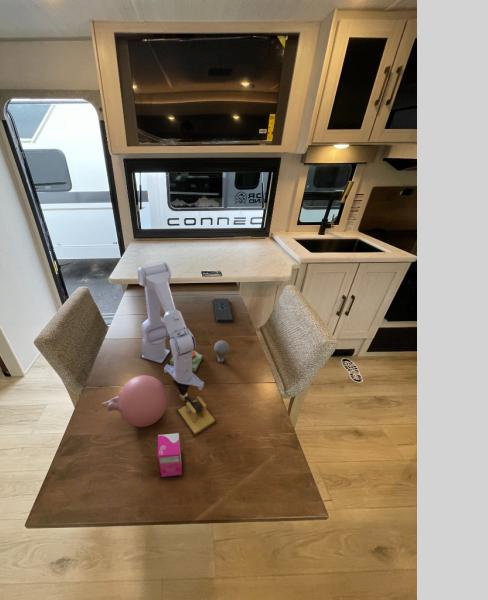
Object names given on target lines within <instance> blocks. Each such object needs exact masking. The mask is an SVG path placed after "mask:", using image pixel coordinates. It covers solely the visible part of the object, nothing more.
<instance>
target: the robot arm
mask: <svg viewBox="0 0 488 600" xmlns="http://www.w3.org/2000/svg"><path fill="white" fill-rule="evenodd" d="M136 272H137V280H138V284H139V286H141V287H144V295H145V303H146V311H147V319H145V320H144V322H142V324H141V335H142V340H141V345H140V346H141V353H142V355H141V358H143V359H146V360H150V361H152V362H155V363H159V364H162V363H163V362H164V360H165V359H166V358H167V356H168V355H169V353H170V351H171V355H172V357H173V356H174V365H172V364H168V363H167V364H166V365H165V366H164V367H163V372H164V373H166V374H167V373H168V374H169V375H170V376H171V378H172V379H173V380H172V383H173V384H174V385H175V386H176V388H177V389H178V392H179V395H180V394H181V395H183V396H185V394H186V393H187V394H188V390H189V388H190V386H194V387H197V389H198V390H199V391H202V390H203V388H204V387H205V382H204V381H203V380H201V379H200V378H199V377H198V376H197V375H196V374H195V373H194V371H192V350H193V351H194V350H195V349H196V347H197V344H196V339H195V337H194V334H193V333H192V331H190V329H189V328H187V325H186V322H185V320H184V317H183V314H182V312H181V311H180V310H178V309H177V308H176V305H175V302H174V299H173V294H172V292H171V288H170V284H171V280H172V279H171V277H172V272H171V268H170V265H169V264H168V263H167V262H165V261H164V262H160V263H155V264H150V265H145V266H140V267H138V268H137V271H136ZM161 307H162V310H163V312H164V315H163V317H162V316H161ZM168 337H169V338H170V340H169V346H170V349H167V347H166V340H167V338H168Z"/></svg>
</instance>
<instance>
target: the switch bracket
mask: <svg viewBox="0 0 488 600" xmlns="http://www.w3.org/2000/svg"><path fill="white" fill-rule="evenodd" d="M192 401H193V402H195V401H197V402H198V403H199V404H200V405H201V409H202V411H201V412H200V413H198V414H196V410H195V409H194V408H193V406H192V405H191V404H190V403H189V402H187V401H186V403H185V405H184V406H182V407H180V408H179V409H177V411H178V413H179V415H180V417H182V419H183V420H184V422H185V423H186V425H187V426H188V428H189V429H190V431H191V432H192V433H193V435H194V436H195V435H197V434H199V433H200V432H202V431H203V430H205V429H206V428H208V427H209V426H211V425H212V424H214V423H215V422H216V420H215V418H214V417H213V416H212V415H211V413H210V412H209V411H208V408H207V403H205V401H204V400H203V398H201V396H200V395H197V396H196V398H195V399H194V400H192Z"/></svg>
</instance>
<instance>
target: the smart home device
mask: <svg viewBox="0 0 488 600" xmlns="http://www.w3.org/2000/svg"><path fill="white" fill-rule="evenodd" d="M213 307H214V312H215V320H216V323H233V321H234V320H233V314H232V310H231V306H230V301H229V299H228V298H213Z"/></svg>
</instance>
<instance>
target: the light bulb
mask: <svg viewBox="0 0 488 600" xmlns="http://www.w3.org/2000/svg"><path fill="white" fill-rule="evenodd" d="M213 349H214V353H215V354H216V356H217V361H218V362H219V363H223V362H225V357H226V355H227V354H228V353H229V352H230V345H229V343H228V342H227V341H225V340H217V341H216V342H215V344H214V347H213Z"/></svg>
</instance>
